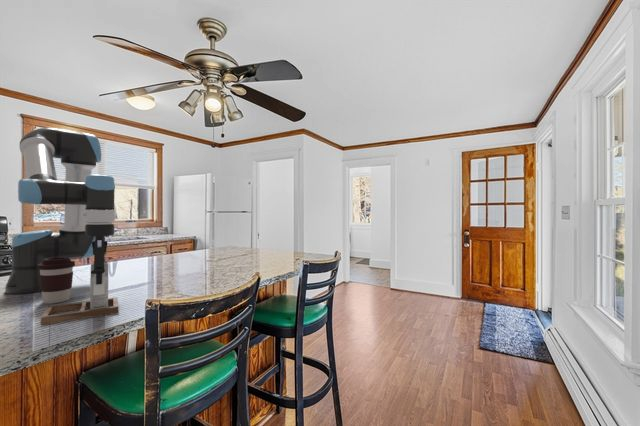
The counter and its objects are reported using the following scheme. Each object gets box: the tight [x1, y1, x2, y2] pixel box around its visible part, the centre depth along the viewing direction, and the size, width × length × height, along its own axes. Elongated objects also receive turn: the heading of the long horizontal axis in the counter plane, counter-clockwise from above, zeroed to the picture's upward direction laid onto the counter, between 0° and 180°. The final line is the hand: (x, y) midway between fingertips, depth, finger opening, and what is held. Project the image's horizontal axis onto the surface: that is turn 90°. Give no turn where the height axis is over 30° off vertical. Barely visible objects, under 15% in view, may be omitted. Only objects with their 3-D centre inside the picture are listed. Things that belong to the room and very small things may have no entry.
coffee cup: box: [37, 257, 76, 305], centre depth 105 cm, size 10×10×15 cm
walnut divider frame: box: [40, 296, 119, 326], centre depth 94 cm, size 12×18×2 cm, turn 125°
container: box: [89, 262, 109, 310], centre depth 96 cm, size 5×5×15 cm
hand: (99, 289), depth 96 cm, fingers open, 13 cm apart
